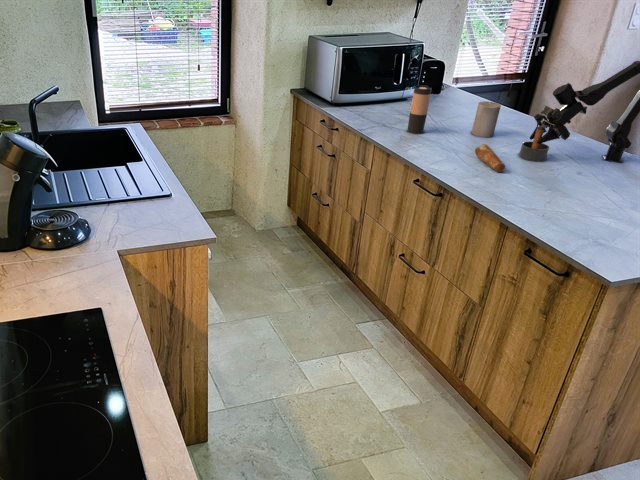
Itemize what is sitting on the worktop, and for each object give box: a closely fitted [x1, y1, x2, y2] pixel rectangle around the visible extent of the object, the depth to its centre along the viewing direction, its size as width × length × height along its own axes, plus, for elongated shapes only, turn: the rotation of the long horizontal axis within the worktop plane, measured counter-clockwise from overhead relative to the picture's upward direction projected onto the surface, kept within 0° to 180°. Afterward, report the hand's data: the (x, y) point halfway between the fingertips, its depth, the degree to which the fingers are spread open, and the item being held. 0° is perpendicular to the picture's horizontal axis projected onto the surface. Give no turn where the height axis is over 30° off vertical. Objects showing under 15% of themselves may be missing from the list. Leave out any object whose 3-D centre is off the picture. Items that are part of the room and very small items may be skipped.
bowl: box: [518, 141, 550, 162], centre depth 247 cm, size 10×10×5 cm
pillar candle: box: [471, 100, 502, 138], centre depth 269 cm, size 10×10×15 cm
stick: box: [531, 125, 546, 149], centre depth 244 cm, size 3×3×12 cm
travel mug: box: [407, 84, 432, 135], centre depth 270 cm, size 8×8×20 cm
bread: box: [474, 143, 506, 173], centre depth 238 cm, size 6×19×6 cm, turn 2°
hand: (533, 141), depth 244 cm, fingers open, 5 cm apart
